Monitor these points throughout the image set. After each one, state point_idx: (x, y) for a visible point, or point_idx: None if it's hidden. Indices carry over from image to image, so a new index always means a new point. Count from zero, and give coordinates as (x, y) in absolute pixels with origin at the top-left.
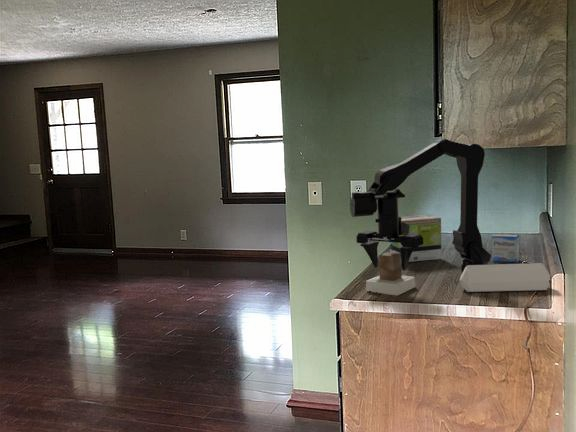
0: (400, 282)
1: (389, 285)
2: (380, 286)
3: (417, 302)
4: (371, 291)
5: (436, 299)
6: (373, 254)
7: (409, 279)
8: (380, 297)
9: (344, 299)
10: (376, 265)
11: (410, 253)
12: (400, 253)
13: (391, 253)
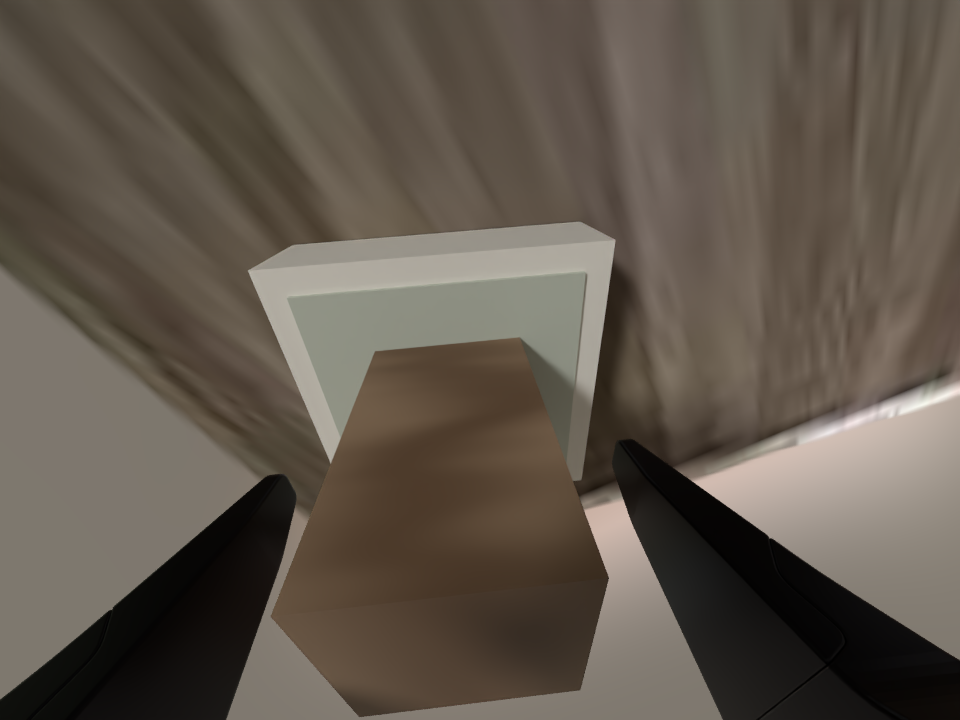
0: (576, 434)
1: None
2: None
3: (695, 459)
4: None
5: (781, 385)
6: (206, 691)
7: (600, 336)
8: None
9: None
10: (286, 504)
11: (874, 640)
12: (604, 581)
13: (444, 633)
